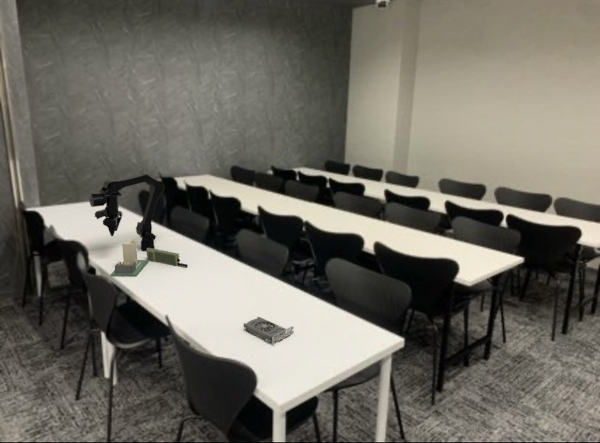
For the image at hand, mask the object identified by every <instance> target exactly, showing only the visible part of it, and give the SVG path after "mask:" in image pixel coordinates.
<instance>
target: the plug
mask: <svg viewBox="0 0 600 443" xmlns="http://www.w3.org/2000/svg"><path fill="white" fill-rule="evenodd" d="M121 244H122V246H121V247H122V259H123V261H124V262H126V265H127V263H128V262H129V265H131V264H132V263H133V262H136V265H137V264H138V262H137V260H138V250H137V241H136V240H135V239H131V240H126V241H124V242H123V243H121Z"/></svg>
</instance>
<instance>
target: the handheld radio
mask: <svg viewBox="0 0 600 443" xmlns="http://www.w3.org/2000/svg"><path fill="white" fill-rule="evenodd" d="M145 252H146V258H147V259H146V260H149V262H154V263H160V264H164V265H168V266H173V267H178V266H180V267H184V268H188V264H185V263H182V262H181V260H180V257H181V256H180V253H177V252H172V251H167V250H162V249H158V248H154V249H153V248H147V249H146V251H145Z"/></svg>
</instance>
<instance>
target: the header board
mask: <svg viewBox="0 0 600 443" xmlns="http://www.w3.org/2000/svg"><path fill="white" fill-rule="evenodd" d="M137 262H138V264H137V265H136V262H133V263H132V264H131V265H129V262H128V263H127V265H126V262H124V260H123V261H118V262H117V263H116V264H114V270H113V271H112V272H111V274H110V277H123V278H124V277H126V278H127V277H128V278H129V277H131V278H133V277H135V278H137V276H138V275H139V274H140V273H141V272H142V270H143V269H144V268H145V267H146V266H147V265H148V264H149V262H150V261H149V260H147V259H137Z"/></svg>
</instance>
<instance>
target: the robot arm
mask: <svg viewBox="0 0 600 443" xmlns="http://www.w3.org/2000/svg"><path fill="white" fill-rule="evenodd" d="M141 183H145V184H147V185H148V186H149V188H148V191H149V197H148V200H147V202H146V203H147V204H146V207H145V210H144V213H143V218H142V220H141V221H138V222H136V223H137V224H136V227H135V233H136V234H137V235H138V236H139V237H140V238H141V241H140V249H141V251H142V252H147V251H146V249H147V248H153V249H156V248H155V239H156V235H155V234H154V233H153V226H152V221H153V218H154V215H155V210H156V206H157V204H158V201H159V198H160V196H161V195H162V194H163V193H164V191H165V188H166V185H165V183H164V182H163V181H161V180H158V179H155V178H153V177H151V175H149V174H147V173H141V174H138V175H134V176H129V177H125V178H121V179H119V178H117V179H107V180H105V181H104V183H103V186H102V187H101V188H100V190H99V192H91V193H90V196H89V205H90V207H91V208H95V207H103V206H105V205H106V206H105V208H103V209H101V210H97V211H95V213H94V217H95V218H96V220H99V219H101V218H103V217H105V218H104V219H103V220H102V225H103V226H105V227H106V228H107V229H108V232H109V235H110V237H113V236H114V234H115V232H118V229H119V225H120V223H121V221H122V218H123V212H122V211H121V210H119V208H120V205H119V201H118V200H119V199H118V197H120V196H122V193H121V192H119V191H121V190H122V189H124V188H126V187H130V186H131V187H132V186H134V185H138V184H141Z"/></svg>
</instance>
